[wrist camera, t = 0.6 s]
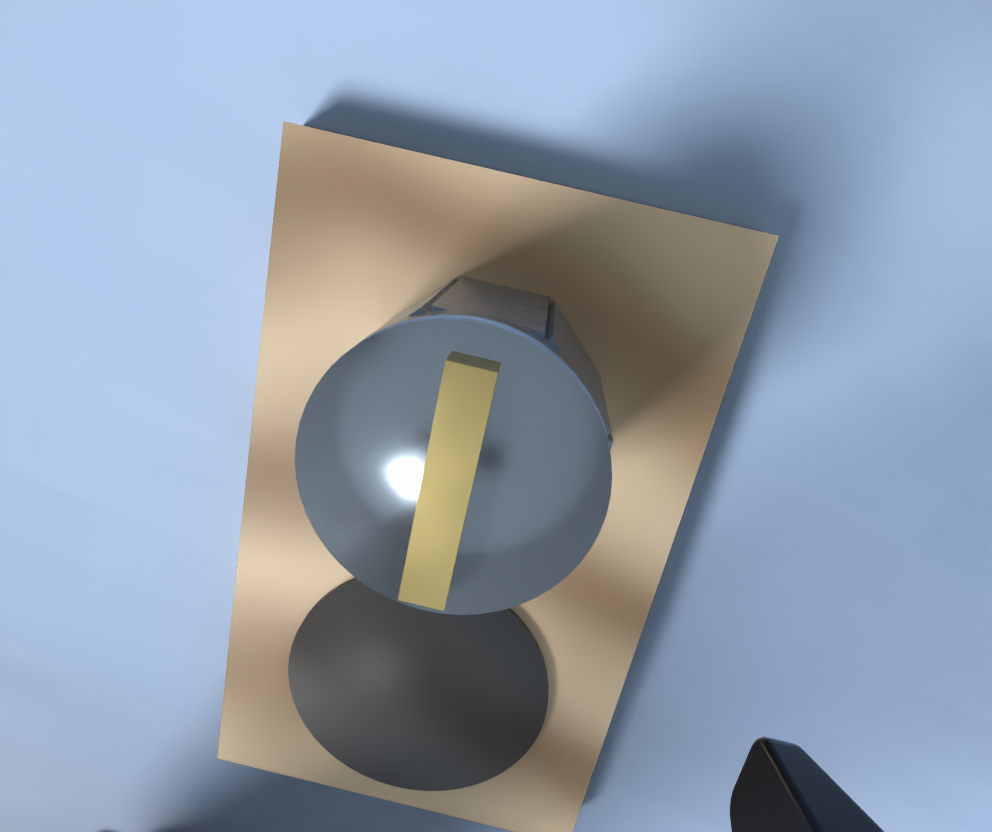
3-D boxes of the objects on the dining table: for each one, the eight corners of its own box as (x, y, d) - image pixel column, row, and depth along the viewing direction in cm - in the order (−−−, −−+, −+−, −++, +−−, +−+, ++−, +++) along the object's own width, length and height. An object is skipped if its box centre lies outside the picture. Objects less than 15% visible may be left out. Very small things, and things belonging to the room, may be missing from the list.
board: (567, 813, 24) (569, 977, 19) (233, 731, 24) (148, 872, 19) (764, 232, 17) (846, 250, 12) (301, 125, 17) (198, 100, 12)
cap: (565, 521, 19) (567, 668, 13) (354, 470, 19) (264, 594, 13) (625, 310, 17) (658, 374, 11) (389, 255, 17) (301, 289, 11)
